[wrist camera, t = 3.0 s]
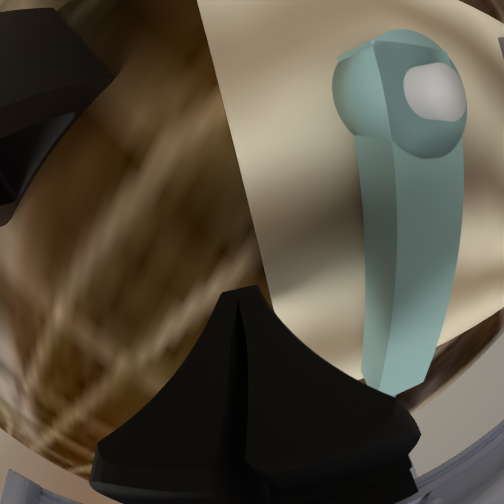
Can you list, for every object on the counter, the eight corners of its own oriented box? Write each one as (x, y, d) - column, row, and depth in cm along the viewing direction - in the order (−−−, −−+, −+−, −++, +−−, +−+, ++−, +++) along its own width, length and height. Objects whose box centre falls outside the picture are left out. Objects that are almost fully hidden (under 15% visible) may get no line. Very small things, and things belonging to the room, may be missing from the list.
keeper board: (516, 287, 15) (552, 320, 10) (291, 386, 15) (309, 462, 10) (519, 40, 6) (571, 43, 1) (193, -10, 6) (172, -95, 1)
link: (319, 45, 7) (366, 10, 4) (412, 49, 7) (472, 36, 4) (352, 373, 13) (373, 421, 10) (412, 350, 13) (438, 390, 10)
